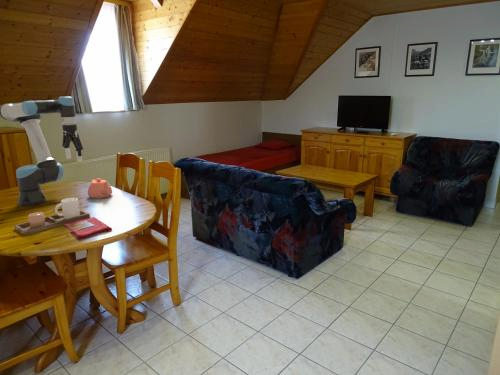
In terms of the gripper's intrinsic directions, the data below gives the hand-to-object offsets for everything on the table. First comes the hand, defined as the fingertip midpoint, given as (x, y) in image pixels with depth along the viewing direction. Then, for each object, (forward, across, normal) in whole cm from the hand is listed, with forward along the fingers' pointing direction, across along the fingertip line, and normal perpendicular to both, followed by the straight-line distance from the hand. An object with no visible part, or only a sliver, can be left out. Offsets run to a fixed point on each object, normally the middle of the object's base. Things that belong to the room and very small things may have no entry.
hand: (74, 160), depth 215 cm
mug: (+28, +18, -16) cm, 37 cm away
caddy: (+29, +19, -24) cm, 42 cm away
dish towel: (+29, +38, -16) cm, 51 cm away
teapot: (+29, -8, +18) cm, 35 cm away
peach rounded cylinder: (+28, +19, -32) cm, 46 cm away
